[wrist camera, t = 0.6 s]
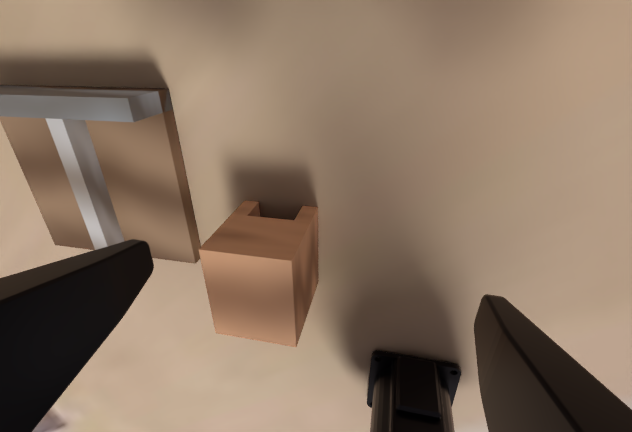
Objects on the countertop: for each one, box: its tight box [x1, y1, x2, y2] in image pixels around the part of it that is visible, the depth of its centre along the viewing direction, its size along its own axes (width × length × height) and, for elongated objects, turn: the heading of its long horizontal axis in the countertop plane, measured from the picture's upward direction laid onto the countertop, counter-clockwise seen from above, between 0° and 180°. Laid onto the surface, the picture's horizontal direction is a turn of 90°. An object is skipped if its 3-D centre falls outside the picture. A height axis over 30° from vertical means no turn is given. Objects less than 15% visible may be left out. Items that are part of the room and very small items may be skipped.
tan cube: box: [199, 201, 318, 347], centre depth 21 cm, size 6×5×6 cm
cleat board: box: [0, 85, 201, 264], centre depth 23 cm, size 12×12×4 cm
